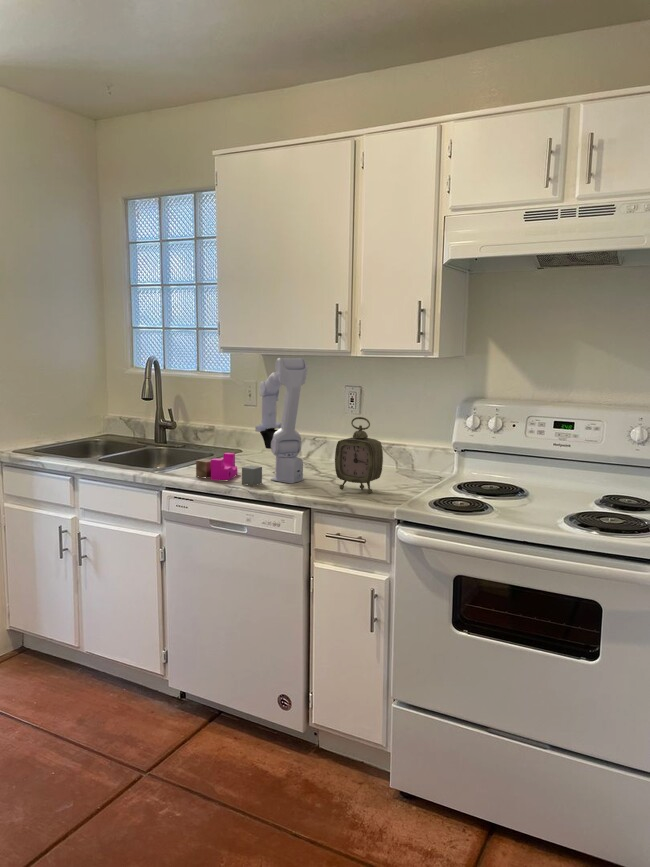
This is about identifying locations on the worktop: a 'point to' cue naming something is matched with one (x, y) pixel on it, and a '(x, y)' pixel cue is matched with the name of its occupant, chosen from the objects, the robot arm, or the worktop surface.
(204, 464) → the walnut block
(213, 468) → the toy block
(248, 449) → the worktop surface
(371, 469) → the tabletop clock
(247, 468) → the slate block
